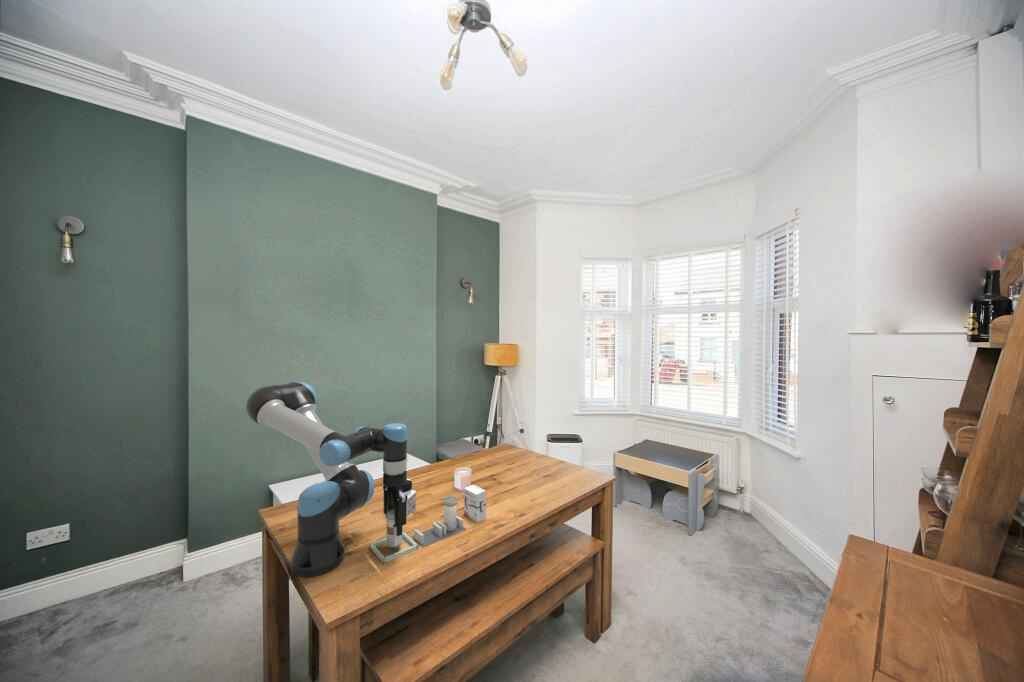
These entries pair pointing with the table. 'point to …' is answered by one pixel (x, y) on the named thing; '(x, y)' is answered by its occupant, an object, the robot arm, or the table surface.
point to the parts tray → (395, 555)
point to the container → (409, 496)
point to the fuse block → (436, 533)
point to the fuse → (450, 513)
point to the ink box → (475, 503)
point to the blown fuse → (390, 529)
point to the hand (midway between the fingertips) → (394, 540)
